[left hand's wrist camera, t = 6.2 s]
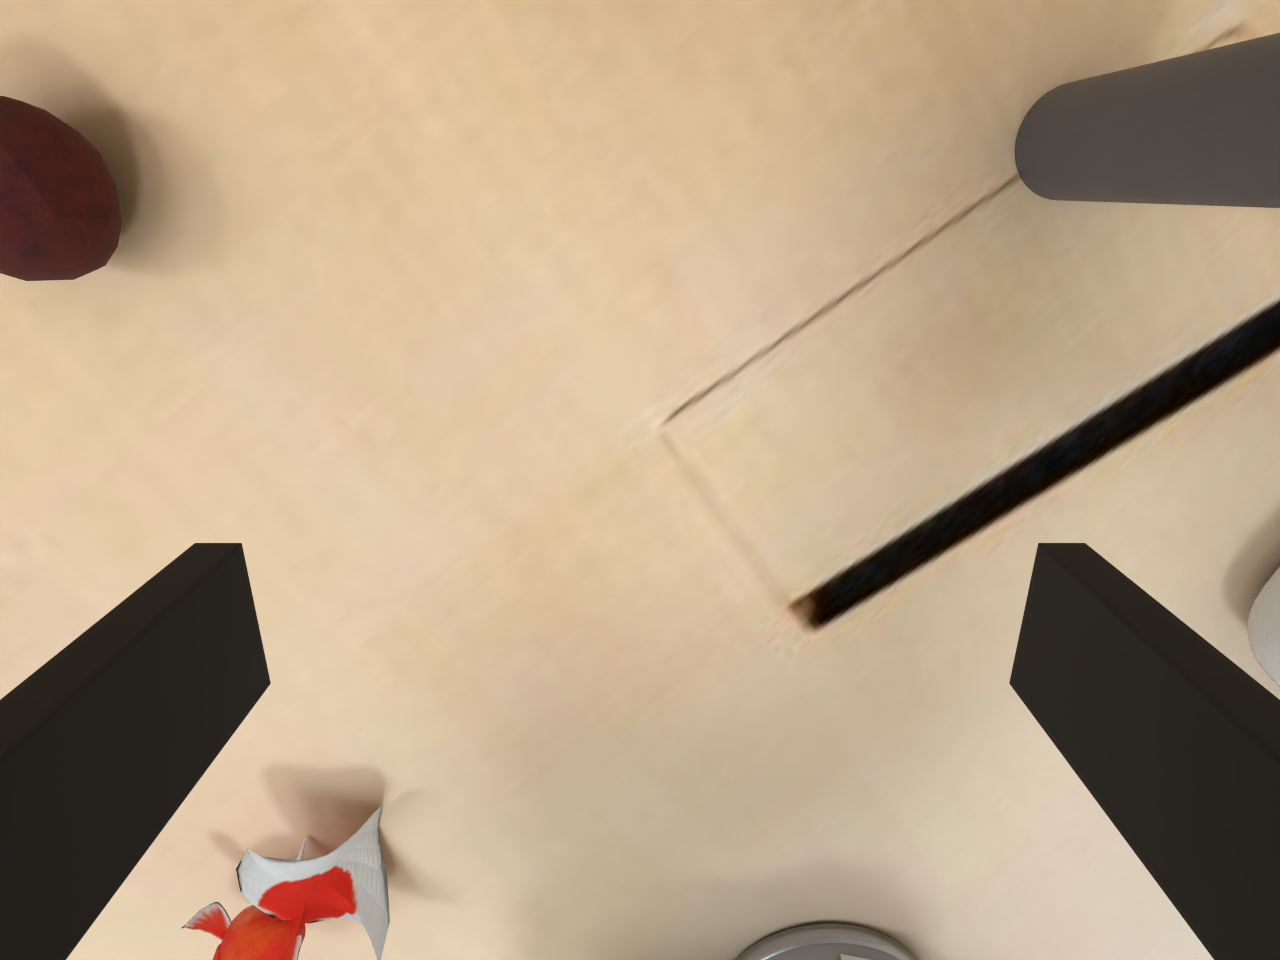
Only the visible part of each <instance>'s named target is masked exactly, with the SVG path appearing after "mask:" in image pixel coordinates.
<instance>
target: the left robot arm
mask: <svg viewBox="0 0 1280 960" xmlns="http://www.w3.org/2000/svg"><path fill="white" fill-rule="evenodd" d="M270 684H271V683H270V678H269V673H268V669H267V664H266V659H265V654H264V649H263V644H262V640H261V635H260V630H259V625H258V620H257V615H256V611H255V606H254V601H253V596H252V591H251V586H250V582H249V577H248V572H247V567H246V562H245V557H244V553H243V548H242V543H195V544H193V545H192V546H191V547H190V548H188V549H187V550H186V551H185V552H183V553H182V554H181V555H180V556H179V557H177V558H176V559H175V560H174V561H172V562H171V563H170V564H169V565H167V566H166V567H165V568H164V569H162V570H161V571H160V572H159V573H157V574H156V575H155V576H154V577H152V578H151V579H150V580H149V581H147V582H146V583H145V584H144V585H142V586H141V587H140V588H139V589H137V590H136V591H135V592H134V593H133V594H131V595H130V596H129V597H128V598H126V599H125V600H124V601H123V602H121V603H120V604H119V605H118V606H116V607H115V608H114V609H113V610H111V611H110V612H109V613H108V614H106V615H105V616H104V617H103V618H101V619H100V620H99V621H98V622H96V623H95V624H94V625H93V626H92V627H90V628H89V629H88V630H87V631H85V632H84V633H83V634H82V635H80V636H79V637H78V638H77V639H75V640H74V641H73V642H72V643H70V644H69V645H68V646H67V647H65V648H64V649H63V650H62V651H60V652H59V653H58V654H57V655H55V656H54V657H53V658H52V659H51V660H49V661H48V662H47V663H46V664H44V665H43V666H42V667H41V668H39V669H38V670H37V671H36V672H34V673H33V674H32V675H31V676H29V677H28V678H27V679H26V680H24V681H23V682H22V683H21V684H19V685H18V686H17V687H16V688H14V689H13V690H12V691H11V692H10V693H8V694H7V695H6V696H5V697H3V698H2V699H1V700H0V960H66V959H67V957H68V956H69V955H70V953H71V952H72V951H73V949H74V948H75V947H76V945H77V944H78V942H79V941H80V940H81V938H82V937H83V936H84V934H85V933H86V932H87V930H88V929H89V928H90V926H91V925H92V924H93V922H94V921H95V920H96V918H97V917H98V916H99V914H100V913H101V911H102V910H103V909H104V907H105V906H106V905H107V903H108V902H109V901H110V899H111V898H112V897H113V895H114V894H115V893H116V891H117V890H118V889H119V887H120V886H121V884H122V883H123V882H124V880H125V879H126V878H127V876H128V875H129V874H130V872H131V871H132V870H133V868H134V867H135V866H136V864H137V863H138V862H139V860H140V859H141V858H142V856H143V855H144V853H145V852H146V851H147V849H148V848H149V847H150V845H151V844H152V843H153V841H154V840H155V839H156V837H157V836H158V835H159V833H160V832H161V831H162V829H163V828H164V826H165V825H166V824H167V822H168V821H169V820H170V818H171V817H172V816H173V814H174V813H175V812H176V810H177V809H178V808H179V806H180V805H181V804H182V802H183V801H184V800H185V798H186V797H187V795H188V794H189V793H190V791H191V790H192V789H193V787H194V786H195V785H196V783H197V782H198V781H199V779H200V778H201V777H202V775H203V774H204V773H205V771H206V770H207V768H208V767H209V766H210V764H211V763H212V762H213V760H214V759H215V758H216V756H217V755H218V754H219V752H220V751H221V750H222V748H223V747H224V746H225V744H226V743H227V742H228V740H229V739H230V737H231V736H232V735H233V733H234V732H235V731H236V729H237V728H238V727H239V725H240V724H241V723H242V721H243V720H244V719H245V717H246V716H247V715H248V713H249V712H250V710H251V709H252V708H253V706H254V705H255V704H256V702H257V701H258V700H259V698H260V697H261V696H262V694H263V693H264V692H265V690H266V689H267V688H268V686H269V685H270ZM1009 684H1010V685H1011V686H1012V688H1013V689H1014V690H1015V692H1016V693H1017V694H1018V696H1019V697H1020V698H1021V700H1022V701H1023V702H1024V704H1025V705H1026V706H1027V708H1028V709H1029V710H1030V712H1031V713H1032V715H1033V716H1034V717H1035V719H1036V720H1037V721H1038V723H1039V724H1040V725H1041V727H1042V728H1043V729H1044V731H1045V732H1046V733H1047V735H1048V736H1049V737H1050V739H1051V740H1052V742H1053V743H1054V744H1055V746H1056V747H1057V748H1058V750H1059V751H1060V752H1061V754H1062V755H1063V756H1064V758H1065V759H1066V760H1067V762H1068V763H1069V764H1070V766H1071V767H1072V768H1073V770H1074V771H1075V773H1076V774H1077V775H1078V777H1079V778H1080V779H1081V781H1082V782H1083V783H1084V785H1085V786H1086V787H1087V789H1088V790H1089V791H1090V793H1091V794H1092V795H1093V797H1094V798H1095V800H1096V801H1097V802H1098V804H1099V805H1100V806H1101V808H1102V809H1103V810H1104V812H1105V813H1106V814H1107V816H1108V817H1109V818H1110V820H1111V821H1112V822H1113V824H1114V825H1115V826H1116V828H1117V829H1118V831H1119V832H1120V833H1121V835H1122V836H1123V837H1124V839H1125V840H1126V841H1127V843H1128V844H1129V845H1130V847H1131V848H1132V849H1133V851H1134V852H1135V853H1136V855H1137V856H1138V858H1139V859H1140V860H1141V862H1142V863H1143V864H1144V866H1145V867H1146V868H1147V870H1148V871H1149V872H1150V874H1151V875H1152V876H1153V878H1154V879H1155V880H1156V882H1157V883H1158V884H1159V886H1160V887H1161V889H1162V890H1163V891H1164V893H1165V894H1166V895H1167V897H1168V898H1169V899H1170V901H1171V902H1172V903H1173V905H1174V906H1175V907H1176V909H1177V910H1178V911H1179V913H1180V914H1181V916H1182V917H1183V918H1184V920H1185V921H1186V922H1187V924H1188V925H1189V926H1190V928H1191V929H1192V930H1193V932H1194V933H1195V934H1196V936H1197V937H1198V938H1199V940H1200V941H1201V942H1202V944H1203V945H1204V947H1205V948H1206V949H1207V951H1208V952H1209V953H1210V955H1211V956H1212V957H1213V959H1214V960H1280V700H1279V699H1278V698H1277V697H1275V696H1274V695H1273V694H1272V693H1270V692H1269V691H1268V690H1267V689H1266V688H1264V687H1263V686H1262V685H1261V684H1259V683H1258V682H1257V681H1256V680H1254V679H1253V678H1252V677H1251V676H1249V675H1248V674H1247V673H1246V672H1244V671H1243V670H1242V669H1241V668H1239V667H1238V666H1237V665H1236V664H1234V663H1233V662H1232V661H1231V660H1229V659H1228V658H1227V657H1226V656H1225V655H1223V654H1222V653H1221V652H1220V651H1218V650H1217V649H1216V648H1215V647H1213V646H1212V645H1211V644H1210V643H1208V642H1207V641H1206V640H1205V639H1203V638H1202V637H1201V636H1200V635H1198V634H1197V633H1196V632H1195V631H1193V630H1192V629H1191V628H1190V627H1188V626H1187V625H1186V624H1185V623H1184V622H1182V621H1181V620H1180V619H1179V618H1177V617H1176V616H1175V615H1174V614H1172V613H1171V612H1170V611H1169V610H1167V609H1166V608H1165V607H1164V606H1162V605H1161V604H1160V603H1159V602H1157V601H1156V600H1155V599H1154V598H1152V597H1151V596H1150V595H1149V594H1147V593H1146V592H1145V591H1144V590H1143V589H1141V588H1140V587H1139V586H1138V585H1136V584H1135V583H1134V582H1133V581H1131V580H1130V579H1129V578H1128V577H1126V576H1125V575H1124V574H1123V573H1121V572H1120V571H1119V570H1118V569H1116V568H1115V567H1114V566H1113V565H1111V564H1110V563H1109V562H1108V561H1106V560H1105V559H1104V558H1103V557H1101V556H1100V555H1099V554H1098V553H1097V552H1095V551H1094V550H1093V549H1092V548H1090V547H1089V546H1088V545H1087V544H1085V543H1038V548H1037V553H1036V557H1035V562H1034V567H1033V572H1032V577H1031V582H1030V586H1029V591H1028V596H1027V601H1026V606H1025V611H1024V615H1023V620H1022V625H1021V630H1020V635H1019V640H1018V644H1017V649H1016V654H1015V659H1014V664H1013V669H1012V673H1011V678H1010V683H1009ZM736 960H915V958H914V957H913V956H912V954H911V953H910V952H909V951H908V950H907V949H906V948H905V947H903V946H902V945H901V944H899V943H898V942H897V941H895V940H893V939H892V938H890V937H888V936H886V935H884V934H882V933H879V932H877V931H874V930H871V929H867V928H864V927H860V926H854V925H847V924H832V923H828V924H813V925H806V926H800V927H795V928H792V929H788V930H785V931H782V932H779V933H776V934H774V935H771V936H769V937H767V938H765V939H763V940H761V941H759V942H758V943H756V944H754V945H753V946H751V947H750V948H748V949H747V950H746V951H744V952H743V953H742V954H741V955H740V956H739V957H738V958H737V959H736Z"/></svg>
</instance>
